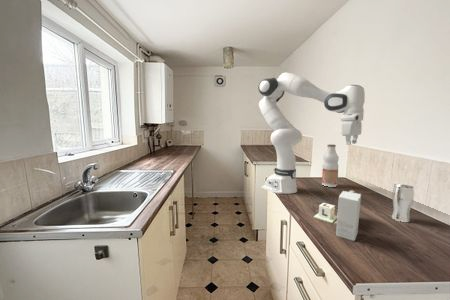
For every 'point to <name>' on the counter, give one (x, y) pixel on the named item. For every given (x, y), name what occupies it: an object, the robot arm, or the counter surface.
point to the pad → (325, 218)
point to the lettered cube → (326, 211)
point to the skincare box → (348, 215)
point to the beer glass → (402, 201)
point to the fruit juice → (330, 167)
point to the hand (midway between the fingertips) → (351, 144)
